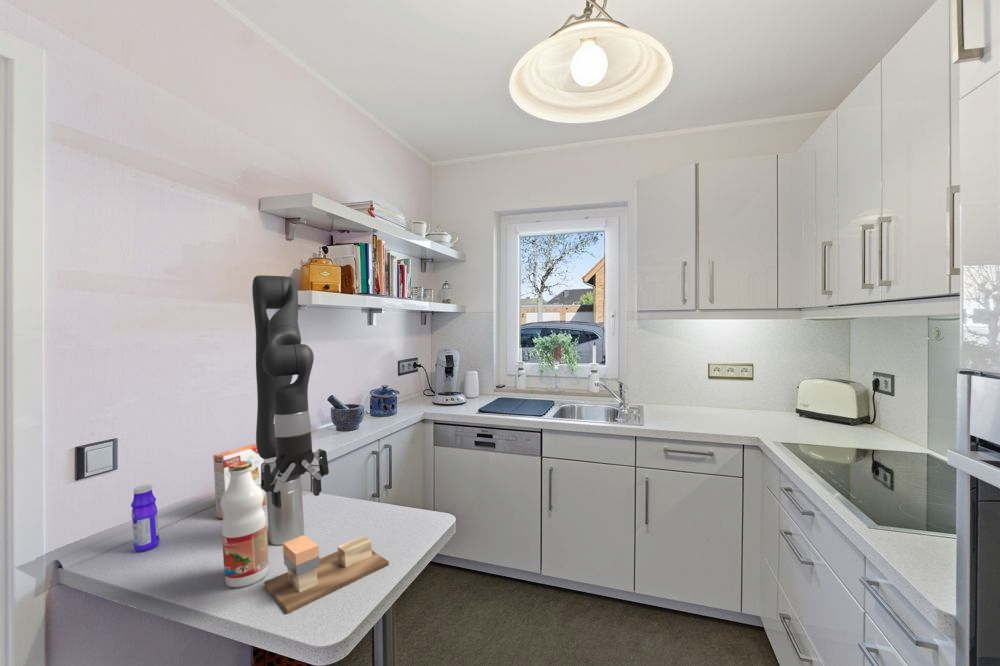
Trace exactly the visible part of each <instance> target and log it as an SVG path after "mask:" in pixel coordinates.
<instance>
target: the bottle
mask: <svg viewBox="0 0 1000 666" xmlns="http://www.w3.org/2000/svg"><path fill="white" fill-rule="evenodd" d="M156 501H157V498H156V497H155V495H154V493H153V485H152V484H142V485H139V486H136V487H134V488H133V499H132V501H131V503H130V507H131V508H132V509H131V519H132V535H133V544H132V545H133V549H134V550H135V551H137V552H139V553H141V552H145V551H148V550H152V549H155V548H156V547H158V545H159V544H160V533H159V521H158V507H157V505H156Z"/></svg>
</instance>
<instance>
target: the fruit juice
mask: <svg viewBox="0 0 1000 666" xmlns="http://www.w3.org/2000/svg"><path fill="white" fill-rule="evenodd" d="M251 469H252V462H251V461H240V462H235V463H232V464H230V465H229V473H230V474H231V477H230V482H229V486H228V488H227V490H226V492H225V493H224V495H223V496H222V499H221V510H222V512H223V515H224V518H223V519H222V521H221V542H222V543H221V544H222V556H223V568H224V569H223V570H224V580H225V584H226V586H228V587H230V588H242V587H247V586H250V585H253V584H255V583H257V582H260V581H261V580H262V579H264V578H265V577H266V576H267V575H268V573H269V570H270V560H269V559H270V557H269V544H268V543H269V540H268V529H267V518H266V512H265V510H264V508H263V500H264V494H263V490H262V489H261V488H260V487H259V486H258V485H257V484H256V483H255V481H254V479H253V477H252V474H251Z"/></svg>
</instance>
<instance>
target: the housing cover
mask: <svg viewBox="0 0 1000 666" xmlns="http://www.w3.org/2000/svg"><path fill="white" fill-rule="evenodd" d="M282 552H283V554H282V555H284V554H285V555H286V556H287V557H288V558H289V559H290V560H291V561H292V562H293V563H294V564H295V565H299V564H301V563H304V562H306V561H309V560H311V559H313V558H316V557H318V556H319V557H320V555H319V553H320V552H319V544H317V543H316V542H314V541H313V540H312V539H311V538H310V537H307V535H306V534H304V535H303V536H300V537H297V538H295V539H292V540H289V541H287V542H284V543H283V544H282Z"/></svg>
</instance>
